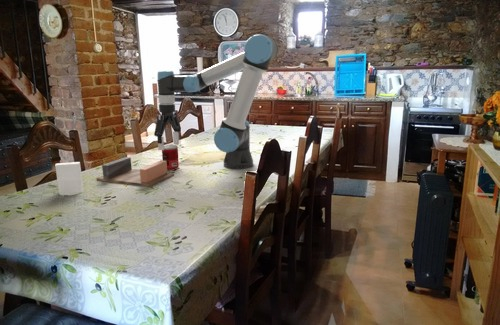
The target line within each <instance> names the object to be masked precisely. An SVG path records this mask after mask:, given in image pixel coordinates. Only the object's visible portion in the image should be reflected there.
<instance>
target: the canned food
mask: <svg viewBox="0 0 500 325" xmlns="http://www.w3.org/2000/svg"><path fill="white" fill-rule="evenodd" d="M178 149H179V148H178V145H176V144H167V145H164V150H161V156H162V159H161V160H162V161H167V171H173V170H177V169H179V165H180V163H179V150H178Z"/></svg>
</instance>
